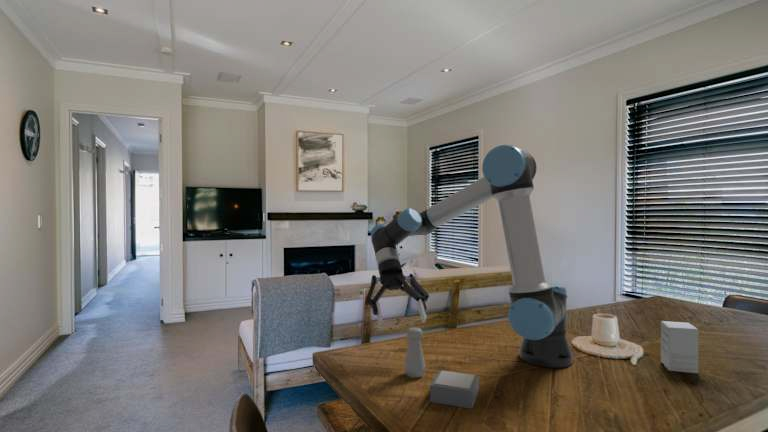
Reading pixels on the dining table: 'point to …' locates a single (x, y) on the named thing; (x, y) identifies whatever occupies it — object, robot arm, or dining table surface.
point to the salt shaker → (414, 354)
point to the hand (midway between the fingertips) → (403, 322)
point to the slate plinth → (454, 389)
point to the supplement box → (679, 346)
